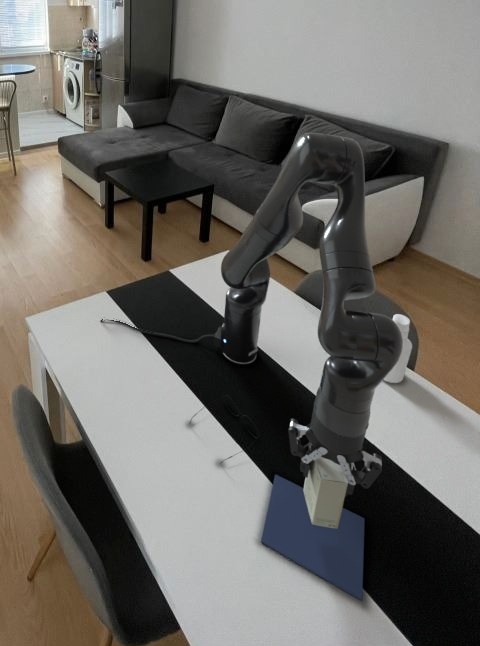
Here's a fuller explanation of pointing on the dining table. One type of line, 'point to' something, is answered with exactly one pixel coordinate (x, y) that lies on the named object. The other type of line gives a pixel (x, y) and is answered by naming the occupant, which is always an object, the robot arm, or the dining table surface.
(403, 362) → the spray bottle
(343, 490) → the cosmetic box
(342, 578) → the cloth
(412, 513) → the dining table surface
